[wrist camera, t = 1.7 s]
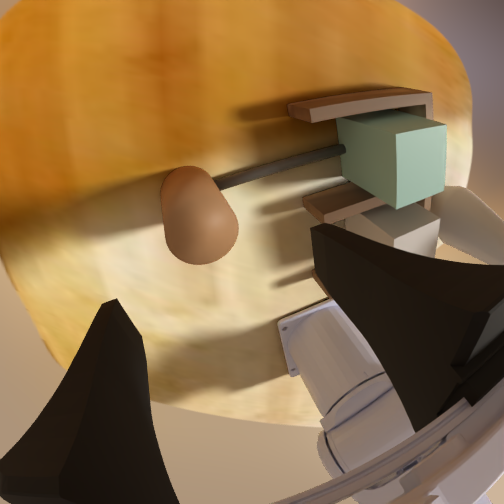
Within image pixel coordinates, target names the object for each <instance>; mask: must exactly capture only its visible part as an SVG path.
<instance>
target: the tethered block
mask: <svg viewBox="0 0 504 504" xmlns="http://www.w3.org/2000/svg"><path fill="white" fill-rule="evenodd" d="M336 124H337V132H338V141H339V145H335V146H331V147H327V148H323V149H319V150H315V151H312V152H308V153H304V154H300V155H297V156H293V157H290V158H286V159H283V160H279V161H276V162H272V163H269V164H265V165H262V166H259V167H255V168H252V169H249V170H246V171H243V172H239V173H236V174H233V175H230V176H227V177H224V178H221V179H218V180H215V181H213V179H212V178H211V176H210V175H209V174H208V173H207V172H206V171H205V170H203V169H201V168H198V167H195V166H184V167H180V168H178V169H176V170H174V171H172V172H171V173H170V174H169V175H168V176H167V177H166V178H165V180H164V182H163V184H162V187H161V204H162V214H163V223H164V231H165V238H166V243H167V246H168V248H169V250H170V251H171V252H172V254H173V255H174V256H175V257H177V258H178V259H180V260H181V261H183V262H186V263H189V264H194V265H202V264H208V263H212V262H214V261H217V260H219V259H220V258H222V257H223V256H225V255H226V254H227V253H228V252H229V251H230V250H231V248H232V247H233V246H234V244H235V242H236V239H237V236H238V229H239V228H238V221H237V218H236V215H235V214H234V212H233V210H232V209H231V207H230V206H229V204H228V202H227V201H226V199H225V198H224V196H223V195H222V193H221V192H220V191H221V190H224V189H227V188H230V187H233V186H236V185H239V184H242V183H245V182H249V181H252V180H255V179H258V178H261V177H264V176H268V175H271V174H274V173H278V172H281V171H284V170H288V169H291V168H294V167H298V166H301V165H305V164H308V163H312V162H315V161H319V160H323V159H326V158H330V157H334V156H337V155H340V159H341V169H342V177H344V178H346V179H348V180H349V181H351V182H353V183H354V184H356V185H358V186H359V187H361V188H363V189H364V190H366V191H368V192H369V193H371V194H373V195H374V196H376V197H377V198H379V199H381V200H382V201H384V202H385V203H387V204H389V205H390V206H392V207H393V208H395V209H399V208H402V207H404V206H407V205H409V204H412V203H414V202H417V201H420V200H422V199H425V198H427V197H430V196H432V195H435V194H438V193H440V192H443V191H444V185H445V171H446V146H447V125H446V124H443V123H440V122H437V121H433V120H430V119H427V118H423V117H420V116H416V115H412V114H409V113H405V112H401V111H397V110H393V109H385V110H378V111H372V112H366V113H360V114H354V115H349V116H344V117H338V118H336Z"/></svg>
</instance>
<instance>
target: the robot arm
mask: <svg viewBox="0 0 504 504" xmlns="http://www.w3.org/2000/svg"><path fill="white" fill-rule="evenodd" d="M310 230H311V238H312V246H313V255H314V264H315V272H316V274H317V276H318V277H319V279H320V281H321V282H322V284H323V286H324V287H325V289H326V290H327V292H328V293H329V295H330V296H331V297H332V298H333V299H331V300H330V299H328V300H326V301H323V302H321V303H319V304H316V305H314V306H312V307H309V308H307V309H305V310H302V311H300V312H297V313H295V314H293V315H290V316H288V317H285V318H283V319H281V320H279V321H278V323H277V325H278V330H279V334H280V338H281V342H282V346H283V351H284V355H285V359H286V363H287V368H288V372H289V375H290V377H294V376H297V375H299V374H300V376H301V378H302V380H303V382H304V384H305V385H306V387H307V389H308V391H309V393H310V395H311V397H312V399H313V400H314V402H315V404H316V406H317V408H318V410H319V412H320V413H321V414H322V416H323V417H324V418H322V419H321V420H320V423H321V425H322V427H323V428H324V430H323V431H321V432H320V433H319V436H318V442H317V449H318V453H319V456H320V458H321V461H322V463H323V465H324V466H325V468H326V470H327V471H328V473H329V474H330V476H331V477H332V478H333V479H332V480H330V481H328V482H326V483H323V484H321V485H319V486H316V487H314V488H312V489H309V490H307V491H304V492H302V493H299V494H297V495H294V496H291V497H288V498H286V499H283V500H280V501H277V502H274V503H271V504H335V503H337V502H339V501H342V500H344V499H346V498H348V497H350V496H352V498H353V499H354V500H355V501H357V502H358V503H359V504H492V503H491V501H490V500H489V498H488V496H487V495H486V492H487V491H488V490H489V489H490V488H491V487H492V486H493V485H494V484H495V483H496V482H497V480H498V479H499V478H500V477H501V476H502V475H503V473H504V265H482V264H470V263H461V262H453V261H448V260H442V259H436V258H431V257H427V256H423V255H419V254H415V253H411V252H407V251H404V250H400V249H397V248H394V247H391V246H388V245H385V244H382V243H379V242H377V241H374V240H371V239H368V238H366V237H363V236H361V235H358V234H355V233H353V232H350V231H348V230H345V229H342V228H340V227H337V226H334V225H331V224H328V223H323V224H320V225H317V226H314V227H312V228H310ZM0 496H1V497H2V498H3V499H4V500H6V501H7V502H9V503H11V504H180V503H179V501H178V499H177V496H176V494H175V492H174V489H173V487H172V485H171V482H170V479H169V476H168V474H167V471H166V468H165V465H164V462H163V459H162V455H161V452H160V449H159V445H158V442H157V438H156V434H155V430H154V426H153V421H152V414H151V406H150V396H149V384H148V372H147V360H146V355H145V350H144V345H143V340H142V336H141V334H140V333H139V331H138V330H137V329H136V327H135V326H134V324H133V323H132V321H131V320H130V318H129V317H128V315H127V313H126V312H125V310H124V309H123V307H122V306H121V304H120V303H119V301H118V299H114V300H111V301H108V302H106V303H103V304H102V305H101V307H100V309H99V310H98V312H97V314H96V316H95V318H94V320H93V322H92V324H91V326H90V328H89V330H88V332H87V334H86V336H85V338H84V340H83V342H82V344H81V346H80V348H79V350H78V352H77V354H76V356H75V357H74V359H73V361H72V363H71V365H70V367H69V369H68V371H67V373H66V375H65V376H64V378H63V380H62V381H61V383H60V385H59V386H58V388H57V390H56V391H55V393H54V394H53V396H52V398H51V399H50V400H49V402H48V403H47V405H46V406H45V408H44V409H43V411H42V412H41V413H40V415H39V416H38V418H37V419H36V420H35V422H34V423H33V424H32V425H31V427H30V428H29V429H28V430H27V432H26V433H25V434H24V435H23V436H22V438H21V439H20V440H19V441H18V442H17V443H16V444H15V445H14V446H13V447H12V449H10V450H9V452H7V453H6V455H5V456H4V457H3V458H2V459H0Z"/></svg>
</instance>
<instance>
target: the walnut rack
mask: <svg viewBox="0 0 504 504" xmlns="http://www.w3.org/2000/svg"><path fill="white" fill-rule="evenodd" d="M287 108H288V113H289V116H290V117H293V118H297V119H300V120H303V121H307V122H310V123H314V122H319V121H324V120H328V119H333V118H338V117H344V116H349V115H354V114H360V113H366V112H372V111H378V110H385V109H391V108H398V111H401V112H405V113H409V114H412V115H416V116H420V117H423V118H427V119H430V120H433V99H432V93H431V92H426V91H421V90H416V89H410V88H404V87H403V88H391V89H381V90H371V91H363V92H355V93H348V94H341V95H335V96H328V97H323V98H317V99H311V100H306V101H301V102H296V103H291V104H287ZM303 203H304V208H305V209H307V210H308V211H309V212H310V213H311V214H312V215H313V216H314V217H316V218H317V219H318V220H319V221H320V222H321V223H322V224H323V223H328V224H332V223H334V222H337V221H340V220H343V219H345V218H348V217H351V216H353V215H356V214H359V213H362V212H364V211H367V210H370V209H373V208H375V207H378V206H381V205H384V204H386V203H385V202H384V201H382V200H381V199H379V198H377V197H376V196H374V195H373V194H371V193H369V192H368V191H366V190H364V189H363V188H361V187H359V186H358V185H356V184H354V183H353V182H350V183H346V184H343V185H340V186H337V187H334V188H330V189H327V190H324V191H321V192H318V193H315V194H312V195H308V196H305V197H303ZM415 203H417V204H419V205H420V206H422V207H424V208H425V209H427V210H428V211H430V208H431V196H430V197H427V198H425V199H422V200H420V201H417V202H415ZM312 273H313V278H314V279H315V281H316V282H317V283H318V285H319V286H320V287H321V288H322V290H323V291H324V292H325V294H326V295H327V296H328V297H329V299H330V300H331V299H333V298H332V297H331V296H330V295H329V293H328V292H327V290H326V289H325V287H324V286H323V284H322V282H321V281H320V279H319V277H318V276H317V274H316V272H315V269H314V270H312Z"/></svg>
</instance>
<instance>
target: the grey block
mask: <svg viewBox="0 0 504 504" xmlns="http://www.w3.org/2000/svg"><path fill="white" fill-rule="evenodd" d="M345 226H346V230H348V231H350V232H353V233H355V234H358V235H361V236H363V237H366V238H368V239H371V240H374V241H377V242H379V243H382V244H385V245H388V246H391V247H394V248H397V249H400V250H404V251H407V252H411V253H415V254H419V255H423V256H427V257H431V258H435V252H436V246H437V240H438V233H439V226H440V218H439V217H438V216H436V215H435V214H433V213H432V212H430V211H428V210H427V209H425V208H424V207H422V206H420V205H419V204H417V203H415V202H414V203H412V204H409V205H407V206H404V207H402V208H399V209H395V208H393V207H392V206H390V205H389V204H387V203H386V204H384V205H381V206H378V207H375V208H373V209H370V210H367V211H364V212H362V213H359V214H356V215H353V216H351V217H348V218H345Z"/></svg>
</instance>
